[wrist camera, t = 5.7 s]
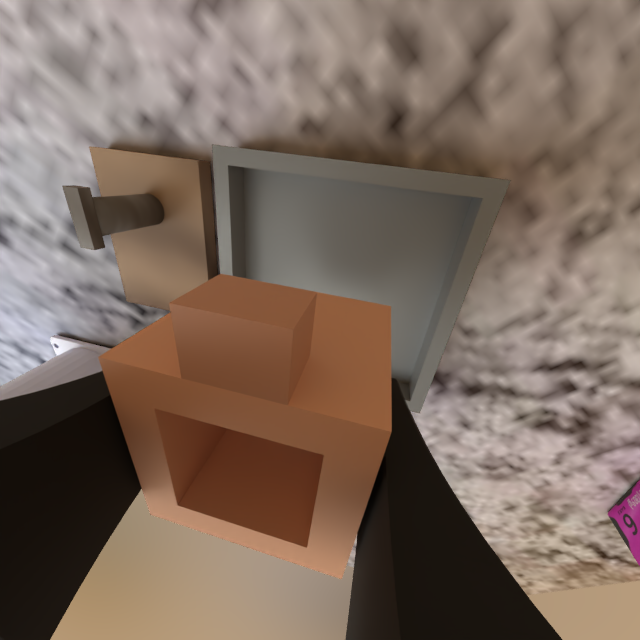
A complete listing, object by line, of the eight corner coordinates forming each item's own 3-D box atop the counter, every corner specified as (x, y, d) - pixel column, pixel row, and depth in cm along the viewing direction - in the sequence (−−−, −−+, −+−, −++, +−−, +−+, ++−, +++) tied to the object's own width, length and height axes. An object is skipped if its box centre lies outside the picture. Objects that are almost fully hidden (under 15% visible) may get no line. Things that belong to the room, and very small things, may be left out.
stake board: (220, 312, 21) (167, 355, 16) (139, 295, 22) (65, 330, 17) (210, 161, 16) (129, 154, 11) (107, 148, 17) (-9, 136, 12)
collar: (360, 426, 11) (341, 579, 7) (235, 394, 12) (150, 514, 8) (402, 260, 8) (417, 355, 4) (227, 230, 9) (73, 282, 5)
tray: (416, 388, 20) (419, 413, 18) (242, 348, 22) (226, 366, 20) (491, 179, 14) (510, 180, 12) (236, 148, 16) (211, 144, 14)
